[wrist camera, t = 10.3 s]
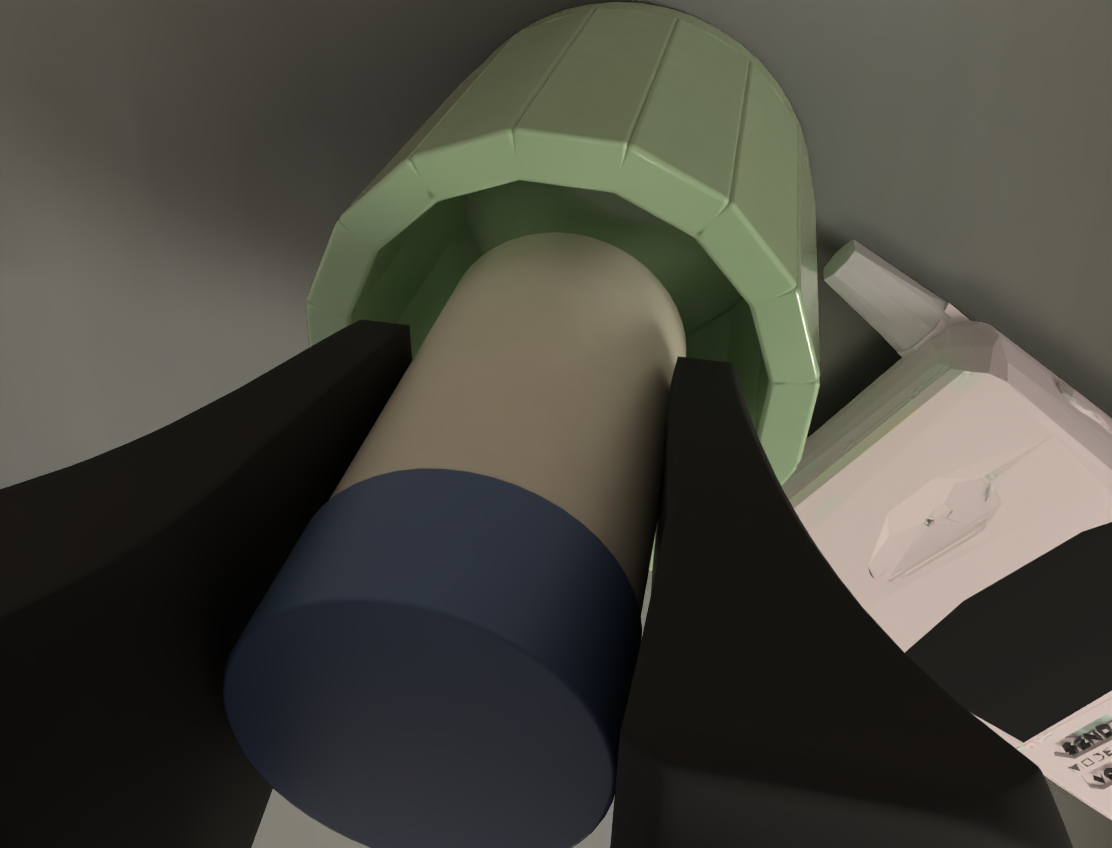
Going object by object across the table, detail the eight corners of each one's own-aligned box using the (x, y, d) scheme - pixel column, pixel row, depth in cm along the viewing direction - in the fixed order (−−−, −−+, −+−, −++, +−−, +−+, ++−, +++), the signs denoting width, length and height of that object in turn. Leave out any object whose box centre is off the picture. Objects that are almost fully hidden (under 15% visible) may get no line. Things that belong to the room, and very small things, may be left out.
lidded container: (495, 459, 15) (326, 874, 10) (407, 258, 13) (145, 621, 8) (717, 423, 14) (666, 868, 9) (650, 197, 12) (535, 574, 7)
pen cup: (514, 382, 20) (422, 599, 15) (386, 66, 17) (219, 210, 12) (843, 319, 18) (859, 547, 13) (765, -54, 15) (747, 60, 10)
